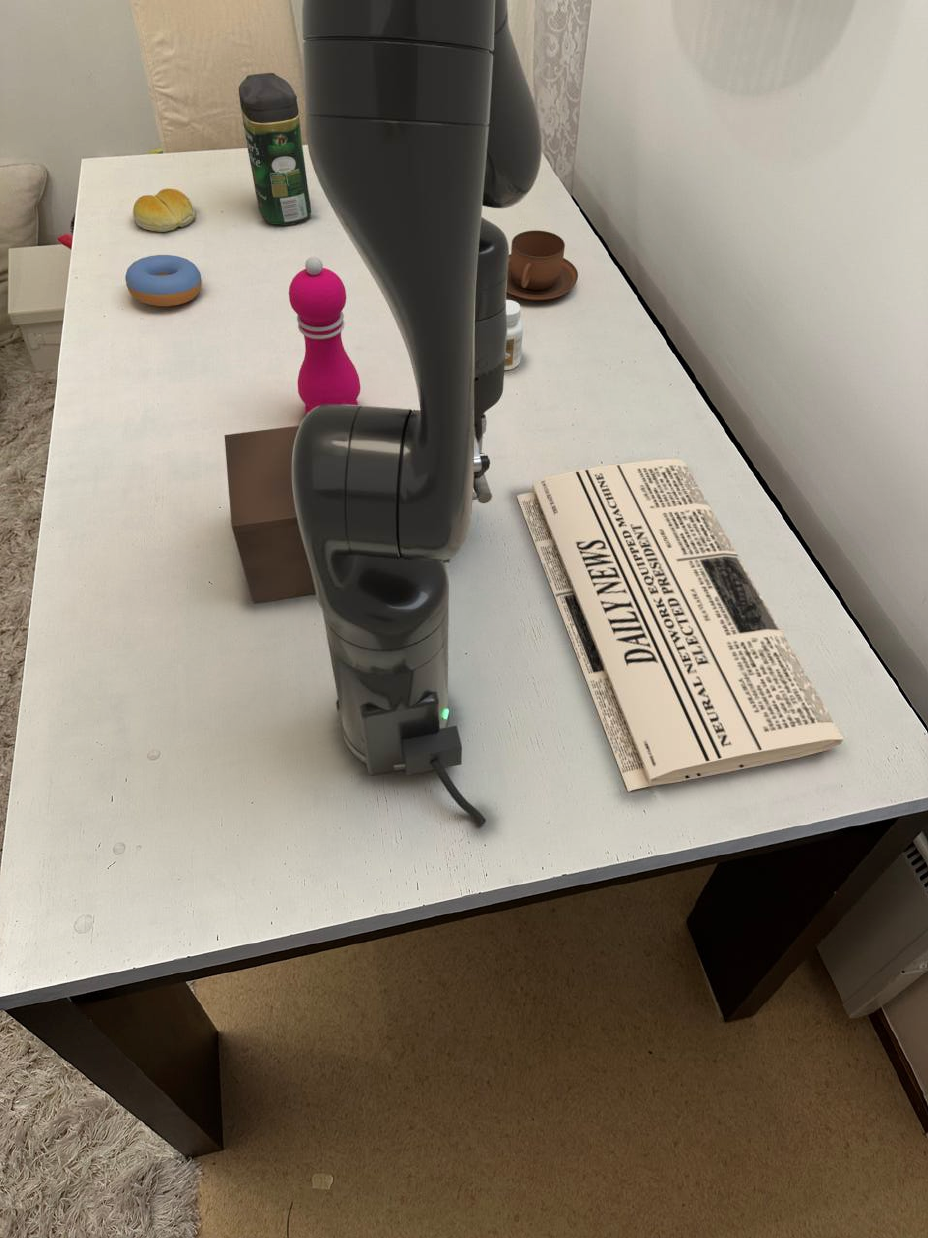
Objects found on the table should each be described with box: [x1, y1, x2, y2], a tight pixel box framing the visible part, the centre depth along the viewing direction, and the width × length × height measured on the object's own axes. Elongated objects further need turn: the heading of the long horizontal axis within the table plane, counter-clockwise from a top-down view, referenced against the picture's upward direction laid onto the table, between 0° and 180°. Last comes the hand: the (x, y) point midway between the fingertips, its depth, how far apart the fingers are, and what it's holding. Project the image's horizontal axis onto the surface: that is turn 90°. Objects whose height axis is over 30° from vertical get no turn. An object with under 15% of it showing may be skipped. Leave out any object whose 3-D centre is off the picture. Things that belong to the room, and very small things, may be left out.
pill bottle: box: [504, 299, 524, 371], centre depth 106 cm, size 4×4×8 cm
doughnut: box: [124, 254, 203, 307], centre depth 115 cm, size 10×10×5 cm
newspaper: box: [516, 458, 844, 793], centre depth 83 cm, size 37×19×3 cm, turn 13°
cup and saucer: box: [506, 229, 579, 301], centre depth 118 cm, size 12×12×6 cm
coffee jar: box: [238, 72, 312, 226], centre depth 125 cm, size 10×8×19 cm
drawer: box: [442, 473, 493, 564], centre depth 85 cm, size 18×12×9 cm, turn 103°
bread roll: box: [132, 188, 197, 233], centre depth 129 cm, size 8×9×4 cm
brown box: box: [224, 425, 316, 604], centre depth 84 cm, size 15×13×11 cm
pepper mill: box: [288, 256, 361, 416], centre depth 94 cm, size 7×7×20 cm
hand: (459, 493), depth 87 cm, fingers closed
